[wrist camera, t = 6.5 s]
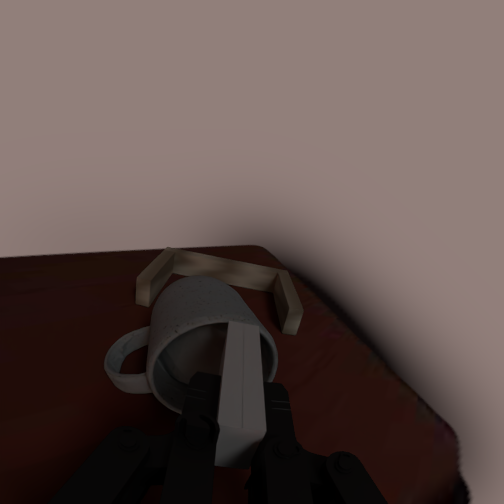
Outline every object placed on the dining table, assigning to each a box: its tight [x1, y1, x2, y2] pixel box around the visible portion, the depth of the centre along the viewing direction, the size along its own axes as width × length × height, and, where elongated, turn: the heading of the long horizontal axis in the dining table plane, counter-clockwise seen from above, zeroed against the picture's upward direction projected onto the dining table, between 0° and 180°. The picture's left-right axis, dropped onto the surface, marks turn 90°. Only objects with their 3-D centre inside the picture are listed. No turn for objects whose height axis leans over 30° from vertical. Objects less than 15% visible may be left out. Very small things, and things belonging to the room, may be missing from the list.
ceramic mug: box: [104, 275, 278, 414], centre depth 17 cm, size 11×8×8 cm
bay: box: [136, 247, 304, 335], centre depth 33 cm, size 17×12×3 cm
